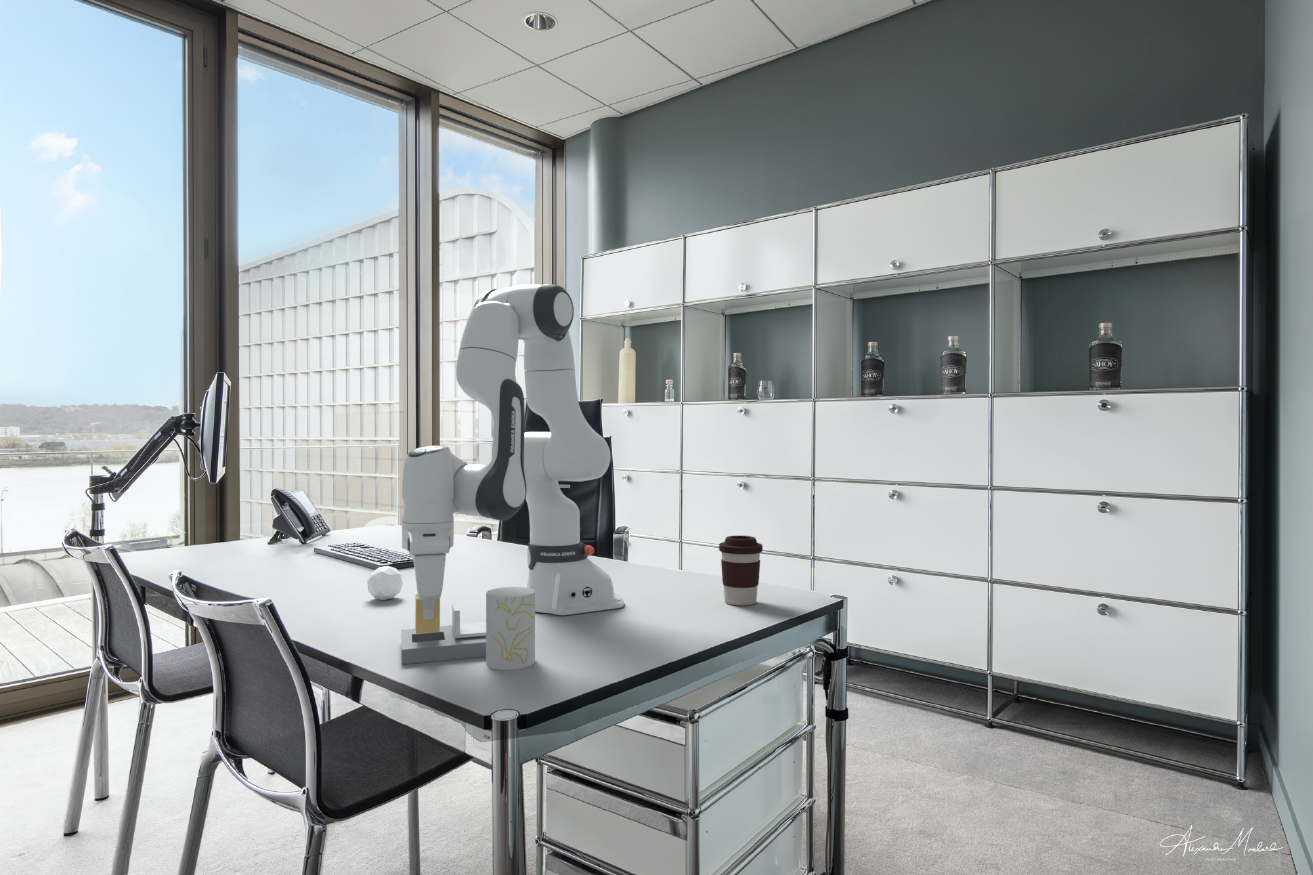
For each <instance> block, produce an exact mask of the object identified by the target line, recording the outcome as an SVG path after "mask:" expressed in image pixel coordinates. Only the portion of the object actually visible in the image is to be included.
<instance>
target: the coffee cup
mask: <svg viewBox="0 0 1313 875" xmlns="http://www.w3.org/2000/svg"><path fill="white" fill-rule="evenodd" d="M763 547H764V546H763V544H762V543H760V542H759V543H758V541H757V538H756V537H755V536H751V535H729V536H726V537H725V539H724V541H723V542H720V543H719V544H718V550H719V552H721V560H720V562H721V563H720V564H721V577H722V578H721V579H722V585H723V597H724V602H725V603H726V604H728V605H731V606H737V607H738V606H739V607H741V606H743V607H745V606H746V607H747V606H752V605H755V604H756V603H757V597H758V596H757V595H758V587H759V582H760V569H761V560H760V557H761V553H762V552H763V551H764V550H763V549H764V548H763Z"/></svg>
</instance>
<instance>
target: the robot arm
mask: <svg viewBox="0 0 1313 875" xmlns="http://www.w3.org/2000/svg"><path fill="white" fill-rule="evenodd" d="M574 309H575V308H574V303H573V299H572V297H571V295H570V294H569V292H568V291H567V290H566V289H565V288H564V287H563V286H560V285H559V284H557V285H556V284H551V283H543V284H519V285H515V286H509V287H503V288H500V289H499V288H494V289H489V290H487V291H484V292H483V293H481V294H480V295H479V296H478V297H477V299H476V300H475V302H474V304H473V308H472V310H471V311H470V313H469V315H468V318H467V321H466V324H465V327H464V329H463V333H462V337H461V340H460V344H459V349H458V355H457V360H456V367H455V375H456V376H455V378H456V381H457V384H458V385H459V387H460V388H461V391H462V392H464V394H466V395H467V397H469V398H470V399H472V400H473V401H475V402H478V403H479V404H482V405H484V406H485V407H486V408H487V409H488V410H489V411H490V413H491V416H492V419H493V433H492V434H493V437H492V456H491V459H490V462H489V463H488V464H480V463H479V464H476V463H468V461H465V460H463V459H461V458H459V457H458V456H457V455H455V454H453V453H452V450H451V448H450V447H448V446H445V445H440V444H439V445H429V446H427V445H426V446H425V445H424V446H420V447H417V448H414V449H412V450H410V451H409V452H408V453H407V455H406V457H405V460H404V464H403V469H402V483H401V484H402V486H401V495H402V496H401V497H402V501H403V508H404V509H403V510H404V512H403V514H402V518H401V548H402V549H404V550H406V551H407V552H408V553H409V554H408V557H409V558H411V559H412V560H413V566H414V575H415V583H416V585H415V586H416V592H417V594H418V598H419V600H422V605H423V619H425V620H429V619H433V617H434V604H435V600H436V599H440V600H441V597H442V594H443V586H444V578H445V569H446V560H447V554H449V553H450V550H451V548H452V547H454V546H455V545H454V544H455V543H454V539H455V538H454V537H455V536H454V535H455V534H454V533H455V531H454V526H455V525H454V524H455V521H454V520H455V518H454V517H455V516H454V514H455V515H463V516H464V515H465V516H472V517H482V518H486V519H492V520H495V521H501V522H502V521H503V522H504V521H507V520H509V519H511V518H512V517H514V516H515V515H516V514H518V512H519V511H520V510H521V508H522V507H523V506H524V503H525V501H526V503H527V508H528V516H529V518H528V519H529V542H528V545H527V568H528V577H527V578H528V579H527V586H526V588H531V589H534V590H535V613H543V614H551V615H557V616H569V615H576V614H583V613H591V612H599V611H607V610H613V609H620V608H623V607H624V605H625V603H624V602H625V601H624V599H623V597H622V596H621V595H620V594H618V593H615V590H614V586H613V580H612V578H611V576H610V575H609V574H608V573H607V572H606V571H605V570H604V569H603V568H601V567H599V565H597V564H596V563H594V562H593V561H592V560H591V559H589V558H588V557H589V556H592V555H593V554H594V553H595V548H594V547H593V546H591V545H590V544H589V545H588V544H585V543H583V542H582V541H580V540H581V536H580V533H581V532H580V531H581V526H580V525H581V524H580V522H581V521H580V518H581V516H580V515H581V514H580V513H581V512H580V509H579V507H578V505H577V503H576V502H574V501H573V500H572V499H571V498H569V497H567V496H566V495H564V493H563V491H562V490H561V488H560V484H559V482H584V481H586V482H587V481H592V480H596V479H600V478H602V477H603V476H604V475H605V474H606V472H607V471H608V468H609V466H610V463H611V451H610V447H609V445H608V442H607V441H606V440H605V438H604V437H603V436H602V435H600V434H599V433H598V432H596V430H595V429H593V428H592V426H591V425H590V424H589V423H588V421H587V419H586V418H585V416H584V413H583V412H582V409H581V407H580V403H579V398H578V392H577V390H578V389H577V383H576V382H577V381H576V369H575V367H576V365H575V355H574V350H573V345H572V339H571V335H570V331H569V329H570V328H571V326H572V323H573V320H574V314H575V310H574ZM519 340H520V341H521V340H522V341H523V343H524V348H523V368H524V385H525V387H524V388H525V394H524V391H523V389H522V387H521V386H520V384H519V383H518V381H517V378H516V367H517V360H518V354H519V353H518V351H519ZM525 399H526V403H525ZM526 404H527V406H528V408H529V409H530V410H531V412H533V413H535V414H536V415H538V416H540V417H541V418H542V419H543V420H544V421H545V423H546V424H547V426H548V428H549V431H526V432H525V428H526V427H525V420H526V416H525V415H526V414H525V413H526V408H525V407H526V406H525V405H526Z"/></svg>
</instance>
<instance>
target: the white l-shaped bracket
mask: <svg viewBox="0 0 1313 875" xmlns="http://www.w3.org/2000/svg"><path fill="white" fill-rule="evenodd" d="M451 605H452V607H451V609H452V610H451V611H452V612H451V615H452V616H451V618H452V621H451V626H452V631H453V634H454V638H465V637H477V636H486V621H484V622H470V623H462V624H461V609H460V606H459V604H458V603H457V604H455V603H453V604H451Z"/></svg>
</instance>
